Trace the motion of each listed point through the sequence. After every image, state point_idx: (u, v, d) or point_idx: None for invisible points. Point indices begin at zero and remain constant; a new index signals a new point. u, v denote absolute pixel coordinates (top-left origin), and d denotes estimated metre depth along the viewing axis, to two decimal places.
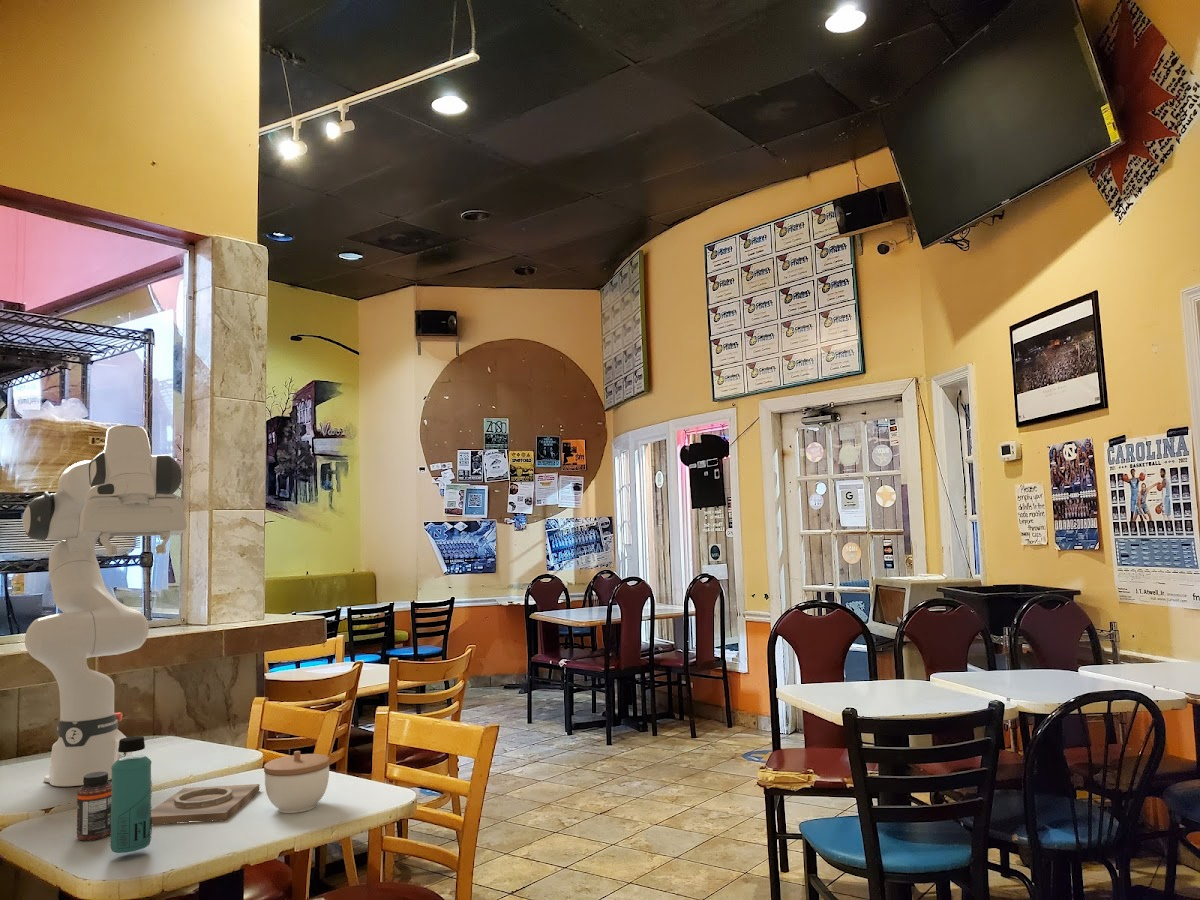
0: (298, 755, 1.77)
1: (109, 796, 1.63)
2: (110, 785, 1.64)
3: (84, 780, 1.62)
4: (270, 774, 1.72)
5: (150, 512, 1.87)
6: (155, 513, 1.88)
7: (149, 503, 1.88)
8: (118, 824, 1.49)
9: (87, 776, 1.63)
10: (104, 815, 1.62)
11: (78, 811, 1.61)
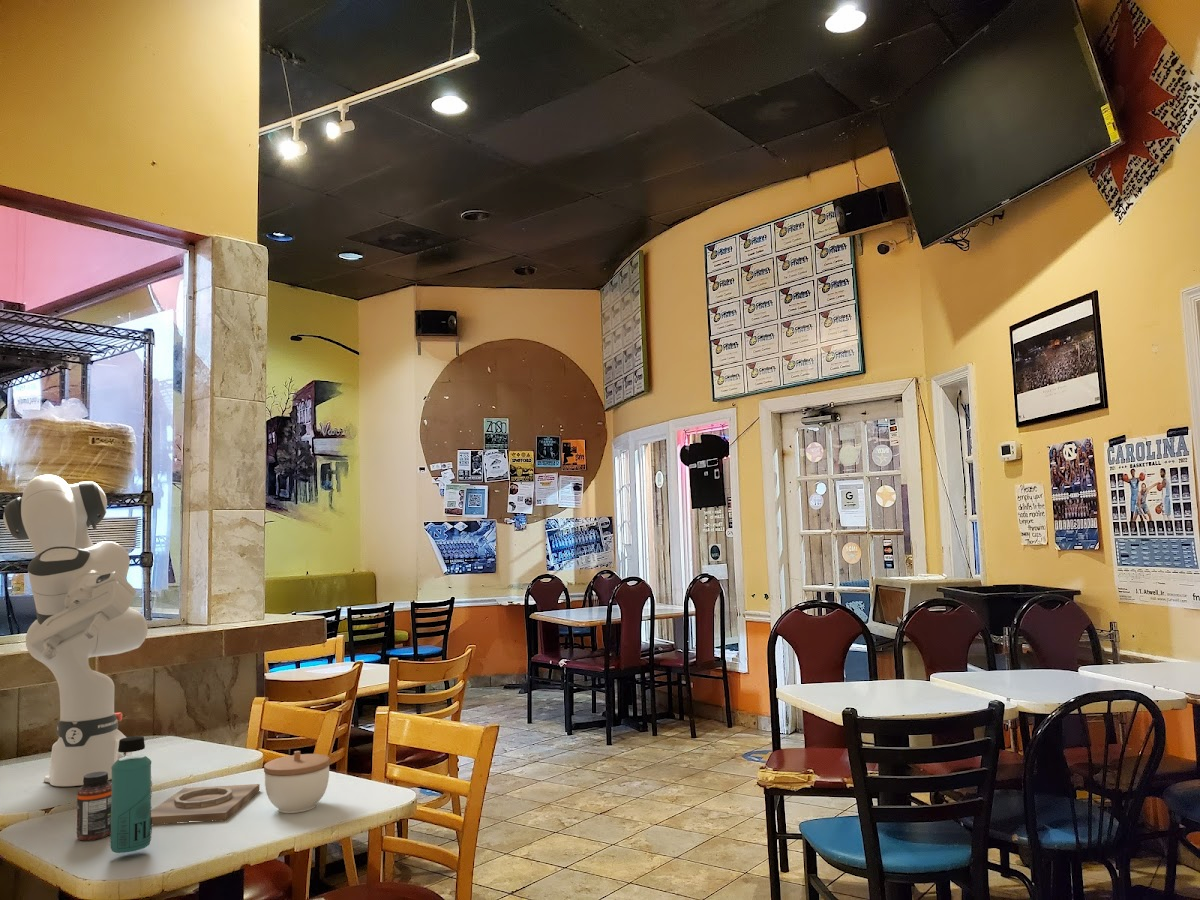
0: (298, 755, 1.77)
1: (109, 796, 1.63)
2: (110, 785, 1.64)
3: (84, 780, 1.62)
4: (270, 774, 1.72)
5: None
6: None
7: None
8: (118, 824, 1.49)
9: (87, 776, 1.63)
10: (103, 815, 1.62)
11: (78, 811, 1.61)
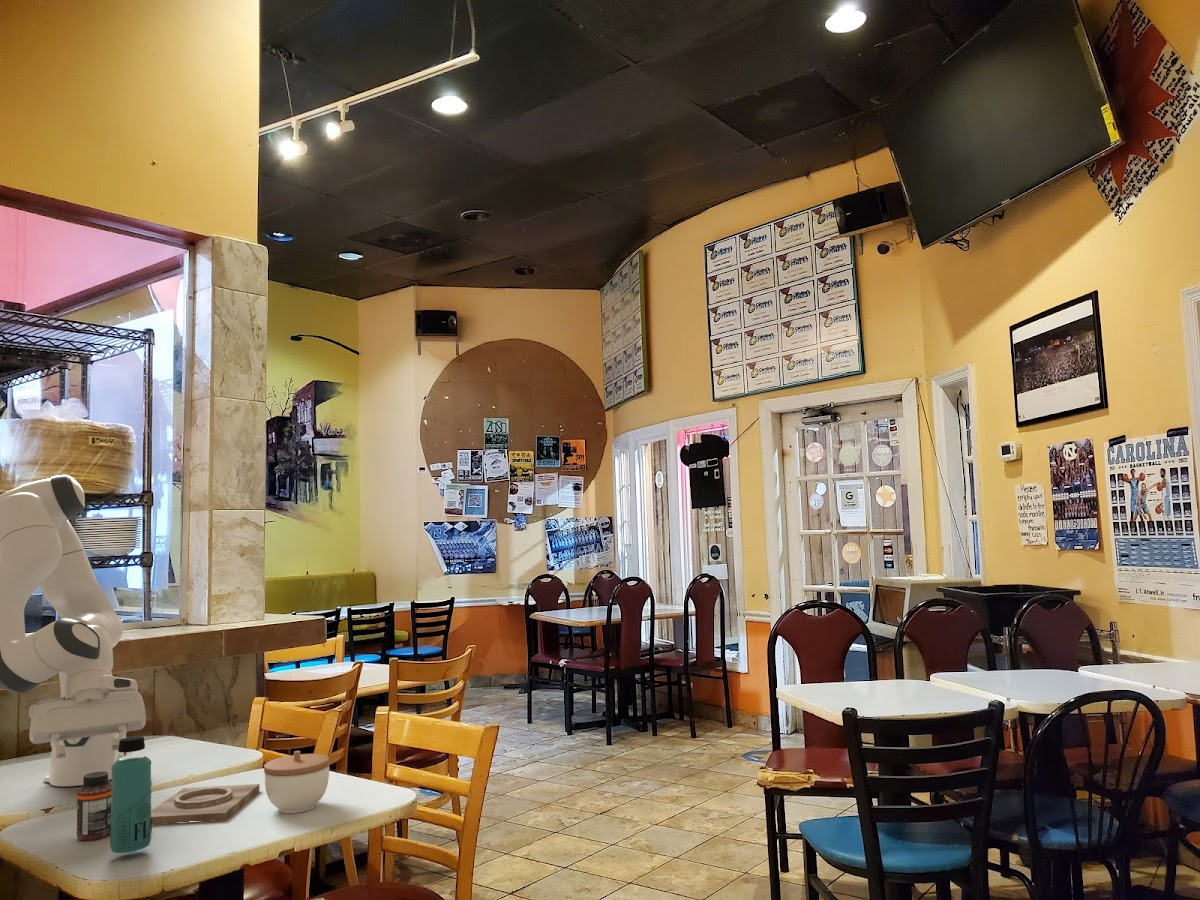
0: (298, 755, 1.77)
1: (109, 796, 1.63)
2: (110, 785, 1.64)
3: (84, 780, 1.62)
4: (270, 774, 1.72)
5: None
6: None
7: None
8: (118, 824, 1.49)
9: (87, 776, 1.63)
10: (104, 815, 1.62)
11: (78, 811, 1.61)
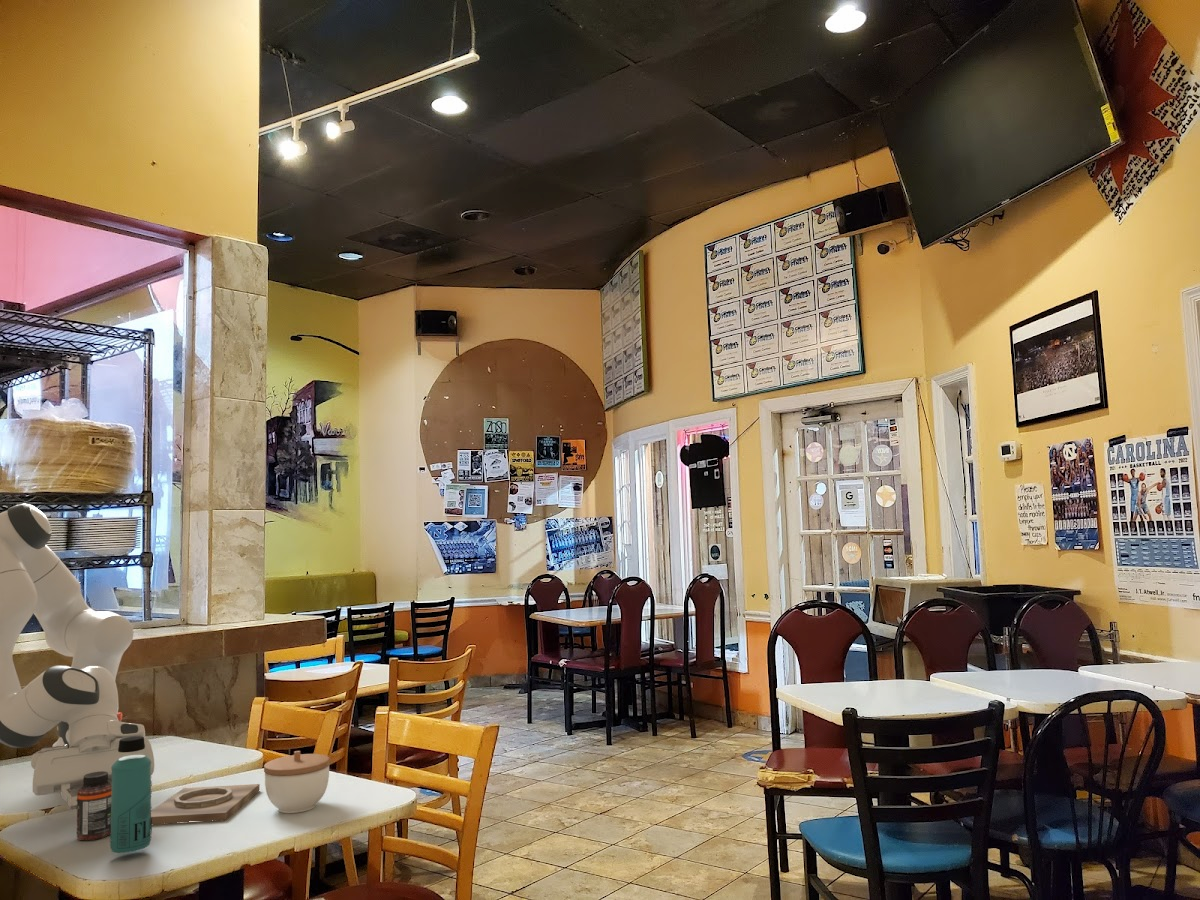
0: (298, 755, 1.77)
1: (109, 796, 1.63)
2: (110, 785, 1.64)
3: (84, 780, 1.62)
4: (270, 774, 1.72)
5: None
6: None
7: None
8: (118, 824, 1.49)
9: (87, 776, 1.63)
10: (104, 815, 1.62)
11: (78, 811, 1.61)
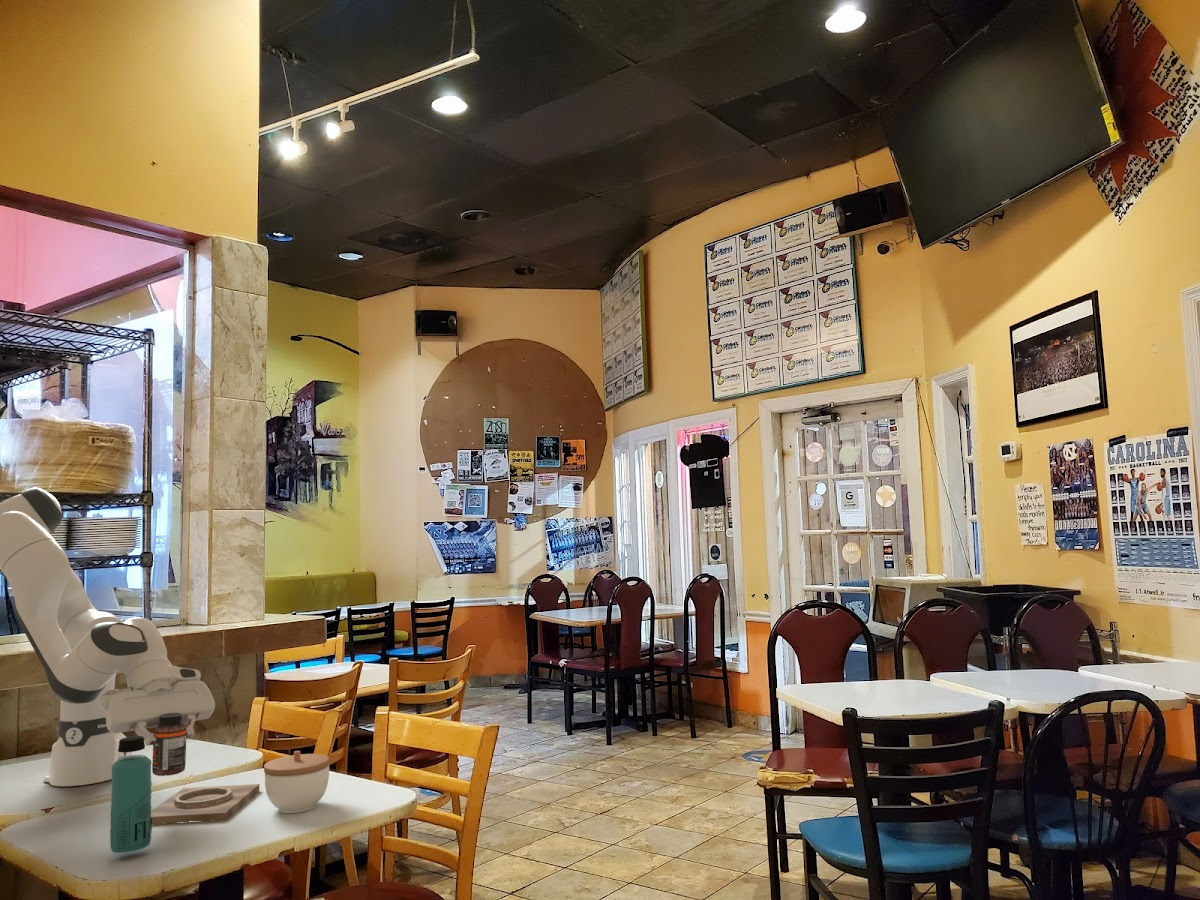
0: (298, 755, 1.77)
1: (185, 734, 1.74)
2: None
3: (162, 720, 1.73)
4: (270, 774, 1.72)
5: None
6: None
7: None
8: (118, 824, 1.49)
9: (165, 716, 1.73)
10: (181, 752, 1.73)
11: (157, 748, 1.71)
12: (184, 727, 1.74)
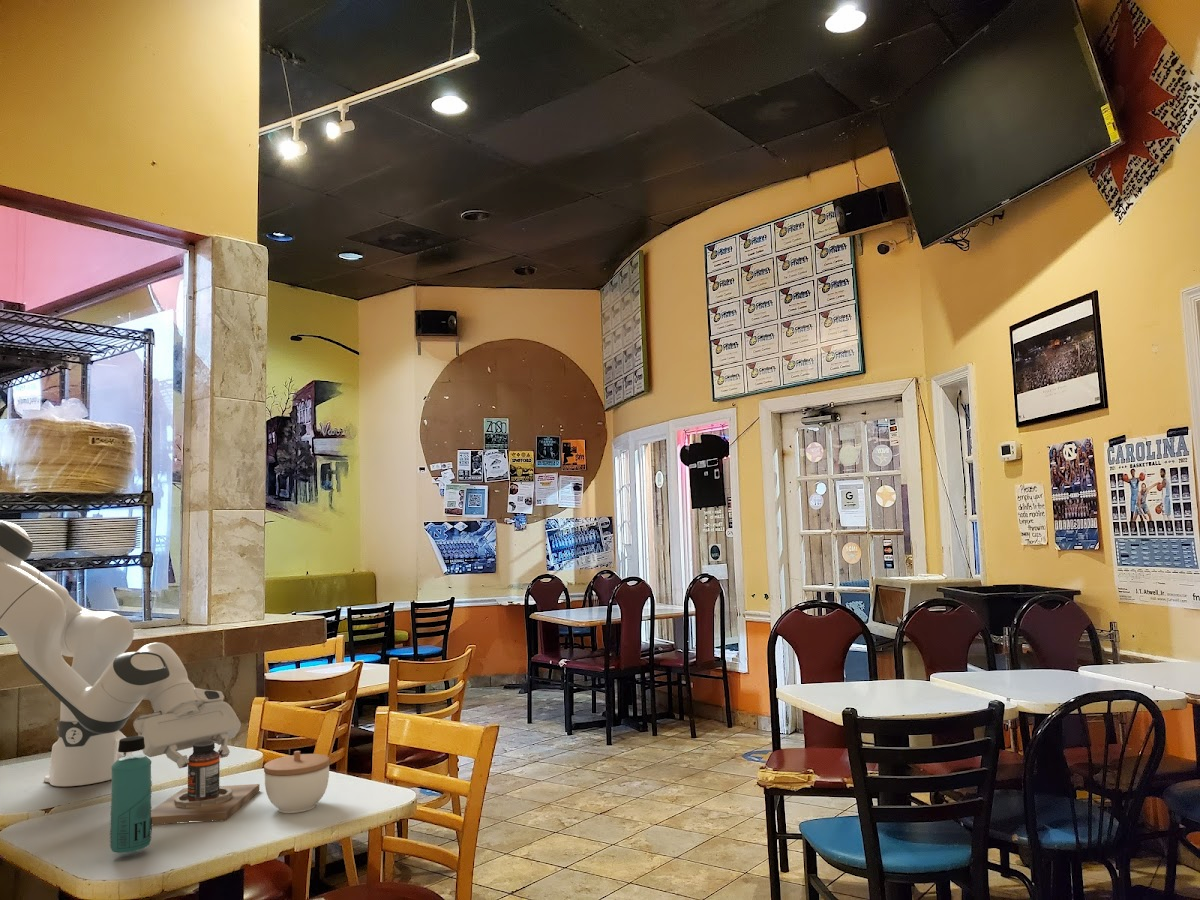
0: (298, 755, 1.77)
1: (219, 761, 1.80)
2: (217, 752, 1.81)
3: (197, 749, 1.78)
4: (270, 774, 1.72)
5: None
6: None
7: None
8: (118, 824, 1.49)
9: (199, 745, 1.78)
10: (217, 778, 1.79)
11: (194, 777, 1.76)
12: (218, 754, 1.80)
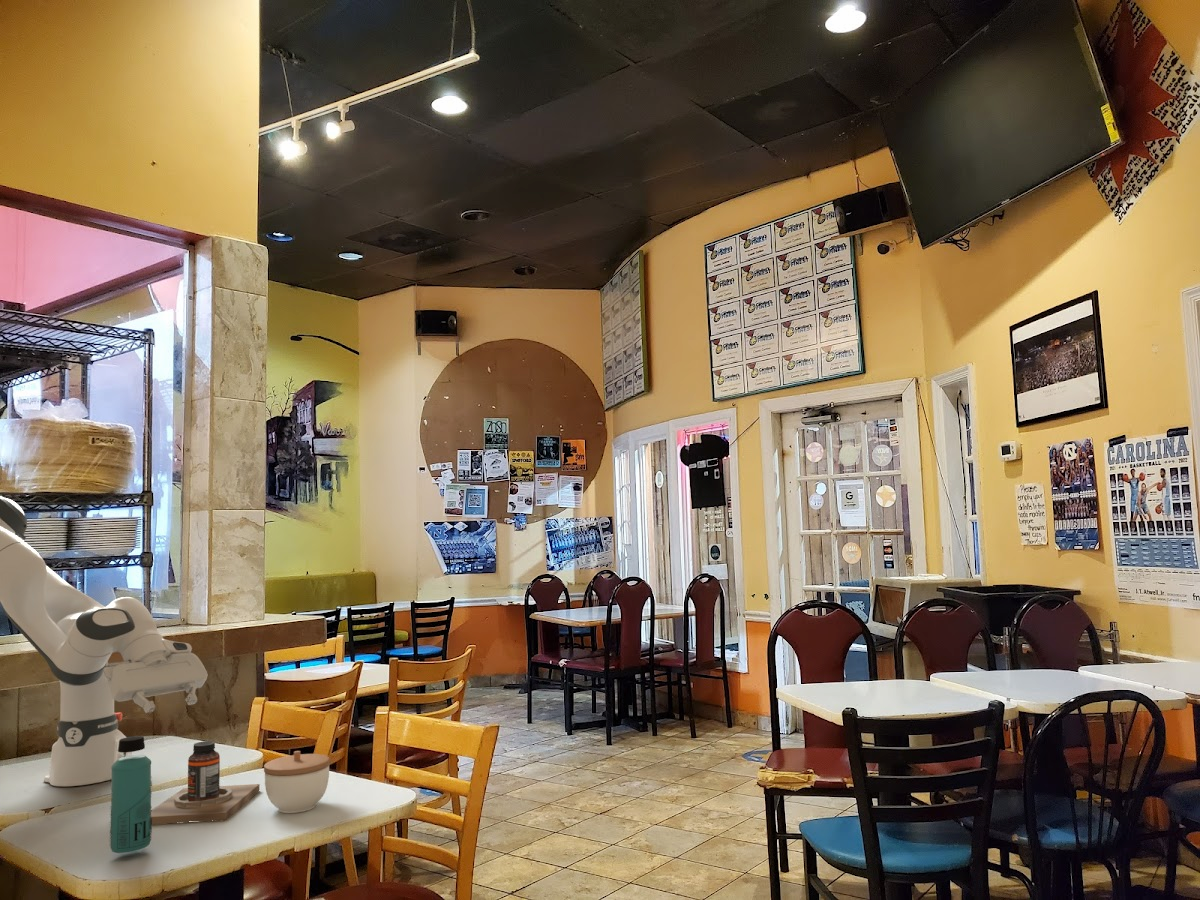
0: (298, 755, 1.77)
1: (219, 761, 1.80)
2: (217, 752, 1.81)
3: (197, 748, 1.78)
4: (270, 774, 1.72)
5: None
6: None
7: None
8: (118, 824, 1.49)
9: (200, 745, 1.78)
10: (217, 778, 1.79)
11: (194, 777, 1.76)
12: (218, 754, 1.80)
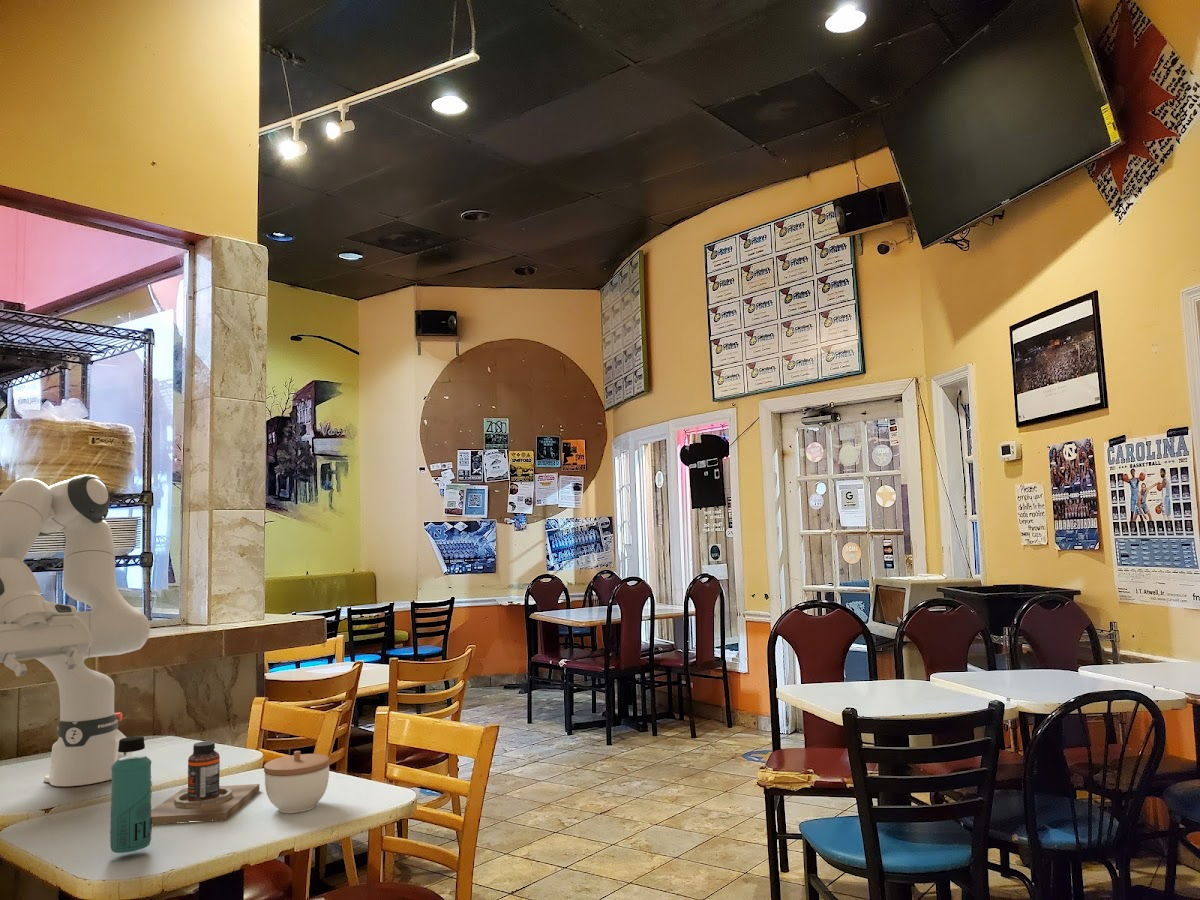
0: (298, 755, 1.77)
1: (219, 761, 1.80)
2: (217, 752, 1.81)
3: (197, 749, 1.78)
4: (270, 774, 1.72)
5: None
6: None
7: None
8: (118, 824, 1.49)
9: (200, 745, 1.78)
10: (217, 778, 1.79)
11: (194, 777, 1.76)
12: (218, 754, 1.80)
